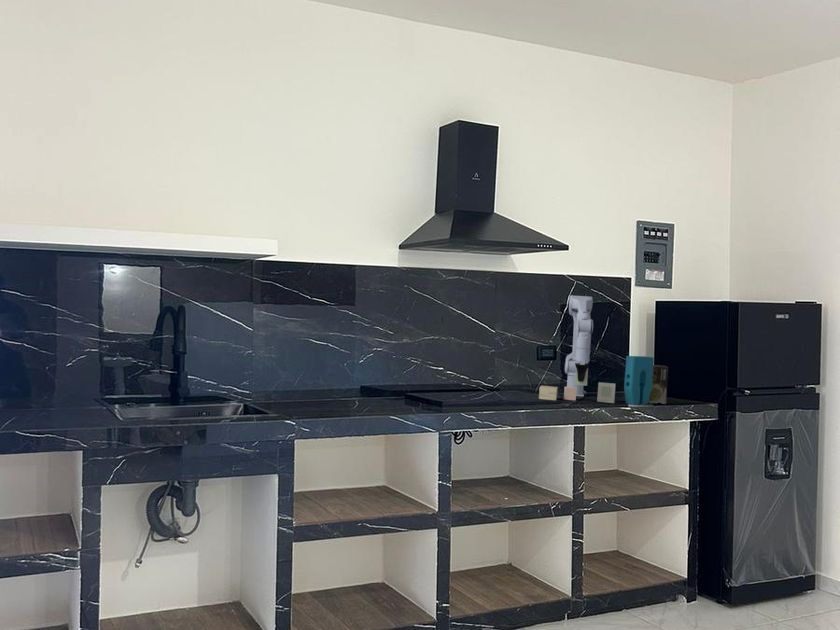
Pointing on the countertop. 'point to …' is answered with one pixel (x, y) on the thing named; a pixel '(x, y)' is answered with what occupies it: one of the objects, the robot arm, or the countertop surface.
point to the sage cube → (579, 381)
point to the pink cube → (570, 393)
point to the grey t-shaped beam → (606, 392)
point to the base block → (548, 392)
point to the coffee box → (659, 385)
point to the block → (638, 379)
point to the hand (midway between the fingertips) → (580, 380)
